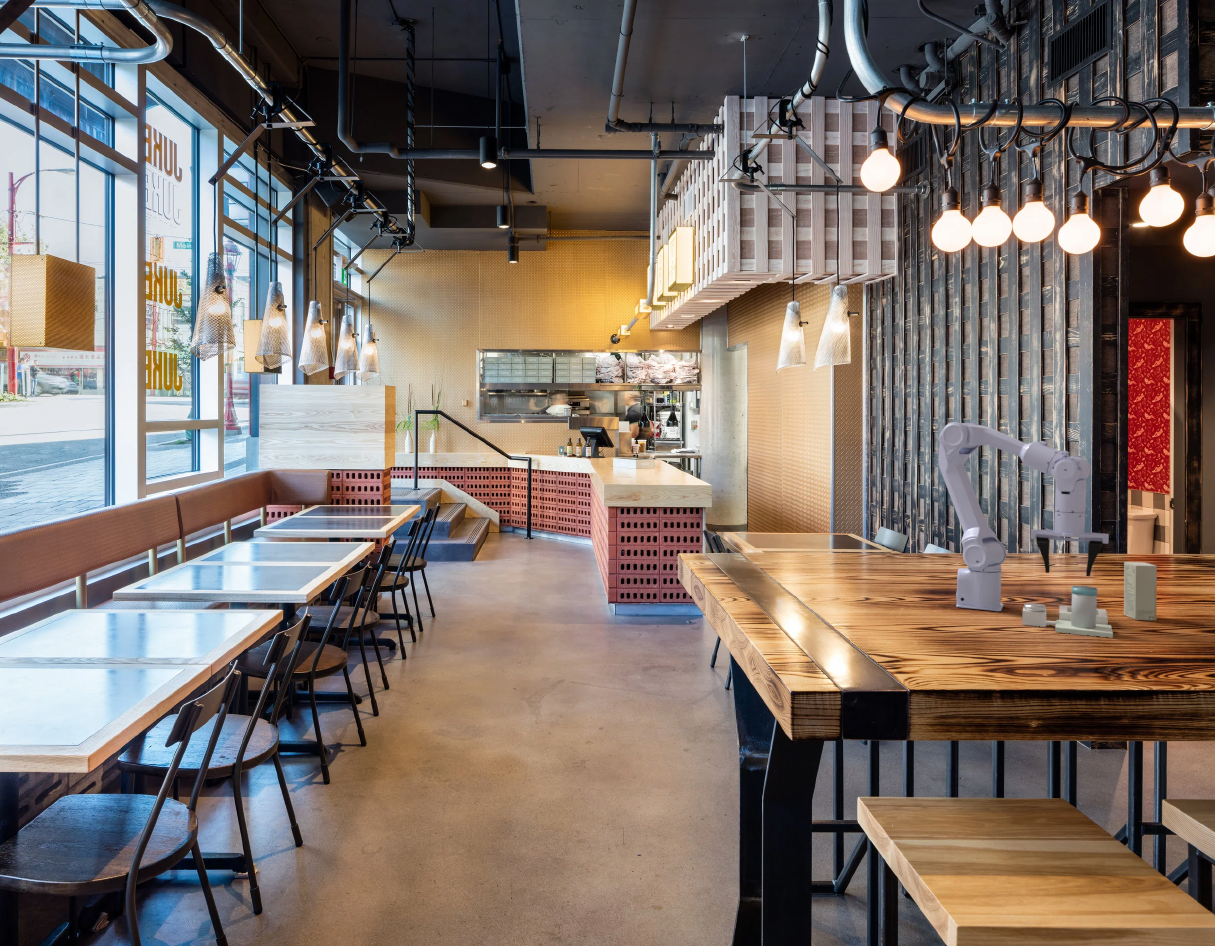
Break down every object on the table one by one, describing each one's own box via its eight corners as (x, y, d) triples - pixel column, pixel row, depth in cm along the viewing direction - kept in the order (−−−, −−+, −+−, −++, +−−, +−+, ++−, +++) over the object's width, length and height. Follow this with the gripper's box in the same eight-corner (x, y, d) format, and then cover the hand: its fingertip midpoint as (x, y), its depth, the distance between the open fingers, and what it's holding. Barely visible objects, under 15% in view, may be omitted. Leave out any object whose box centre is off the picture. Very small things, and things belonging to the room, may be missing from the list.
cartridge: (1070, 627, 164) (1071, 588, 164) (1070, 622, 168) (1071, 584, 168) (1096, 629, 162) (1097, 590, 161) (1096, 625, 166) (1097, 586, 165)
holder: (1022, 624, 170) (1022, 610, 170) (1025, 612, 182) (1025, 599, 182) (1108, 633, 162) (1108, 619, 162) (1105, 620, 174) (1106, 607, 174)
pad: (1055, 632, 164) (1055, 627, 164) (1055, 624, 171) (1055, 619, 171) (1112, 638, 159) (1112, 633, 159) (1110, 630, 166) (1111, 625, 166)
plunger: (1023, 622, 170) (1023, 605, 170) (1024, 618, 174) (1024, 602, 174) (1044, 624, 168) (1045, 607, 168) (1045, 620, 172) (1045, 604, 172)
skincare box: (1156, 621, 174) (1158, 566, 173) (1134, 620, 175) (1136, 565, 174) (1143, 615, 180) (1145, 561, 180) (1121, 614, 181) (1123, 561, 180)
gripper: (1031, 511, 173) (1028, 573, 174) (1109, 515, 166) (1107, 580, 166) (1032, 508, 179) (1030, 568, 180) (1108, 512, 172) (1106, 575, 172)
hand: (1067, 574), depth 174 cm, fingers open, 7 cm apart
